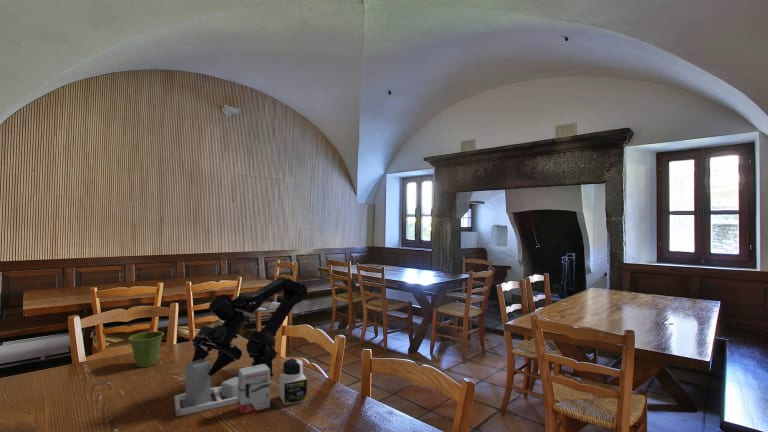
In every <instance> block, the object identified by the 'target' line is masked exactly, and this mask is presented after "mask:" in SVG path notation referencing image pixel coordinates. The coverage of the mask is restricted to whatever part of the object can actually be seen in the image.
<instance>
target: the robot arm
mask: <svg viewBox="0 0 768 432" xmlns="http://www.w3.org/2000/svg"><path fill="white" fill-rule="evenodd" d="M280 292H283V293H282V295H283V297H282V300H281V302H280V303H279V305H278V306H277V308H276V309H275V310H274V312H272V315H271V316H270V318H269V319H268V321H267V322H266V324H265V325H264V327H263V328H262V329H261V330H254V331H253V332H252V333H251V335H250V337H249V338H248V339H247V343H246V345H245V347H246V352H247V354H248V356H249V358H251V359H252V362H251V364H250V365H251V366H256V365H261V364H266V365H267V366H268V367H269V368H270V377H273V376H274V372H273V360H274V359H276V357H277V353H278V351H276V350H275V349H274V348H273V346H274V338H275V337H274V336H276V334H277V332H278V330H279V329H280V328H281V327H282V325H283V323H284V322H285V320H286V318H287V317H288V315H290V313H291V311H292V309H293V308H294V306H295V305H298V304H300V303H301V302H302V301H303V300H305V297H307V294H308V288H307V285H306V284H304V283H299V282H297V281H296V280H292V279H291V278H289V277H283V276H280V277H278V278H276V280H273V281H272V282H270V283H268V284H266V285H264V286H263V287H260V288H258V289H257V290H254V291H249V292H246V293H245V292H244V293H242V294H239V295H238V296H236V298H234V299H231V298H230V297H229V296H228V294H226V293H225V294H224V293H222V294H221V295H220V296H219V297H217V298H214V300H212V301H211V302H210V304H209V306H208V310H209V311H210V312H211V313H212V314H213V315H214V316H215V317H217V319H219V321H223V322H222V324H218V325H214V327H211V326H206V325H204V324H202V325H201V326H200V330H199V332H198V334H197V335H196V336H194V337H193V339H192V341H191V343H192V345H193V347H194V352H193V353H194V354H193V357H192V360H191V362H193V361H196V360H199V359H202V360H205V359H206V358H207V357H208V356H209V355H210V352H211V351H212V350H214V351H215V350H216V351H217V358H216V359H215V361H214V363H213V365H211V369H210V371H209V373H208V375H209V376H211V377H212V376H213V375H215V374H216V373H218V372H219V371H220V370H222V369H223V368H225V367H226V366H228V365H230V364H231V363H234V362H236V360H237V361H239V360H240V359H241V358H242V356H243V350H241V349H240V348H239V347H238V346H237V345H235V343H232V341H233V340H234V339H235V340H237V339H238V337H239V336H238V333H239V331H240V329H241V328H242V326H243V324H248V325H249V324H251V319H250V315H248V314H244V313H249V314H252V313H255V312H256V311H257V310H258V309H260V308H261V307H262V305H263V303H264V302H265V301H267V300H268V299H270V298H272V297H273V296H275V295H277V294H279V293H280ZM286 316H287V317H286ZM251 366H250V367H251Z"/></svg>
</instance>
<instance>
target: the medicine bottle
mask: <svg viewBox="0 0 768 432" xmlns="http://www.w3.org/2000/svg"><path fill="white" fill-rule="evenodd" d="M303 365H304V362H303V361H302V359H298V358H290V359H287V360H285V361H284V362H283V367H282V369H283V371H282V372H283V373H280V374H279V377H278V378H279V382H278V383H279V385H278V386H279V389H278V390H279V392H278V393H279V396H278V397H279V398H280V400H281V402H282V404H283V405H284V406H288V405H293V404H298V403H302V402H306V401H307V400H308V399H307V398H308V393H307V392H308V379H307V377H306V376H305V374H304V371H303V370H304V369H303V368H304V367H303Z"/></svg>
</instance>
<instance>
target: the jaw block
mask: <svg viewBox="0 0 768 432" xmlns="http://www.w3.org/2000/svg"><path fill="white" fill-rule="evenodd" d="M211 368H212V363H211V361H209V360H205V359H204V360H202V359H199V360H196V361H193V362H192V361H190V362H187V363H185V393H186V399H185V400H186V404H189V405H191V406H196V405H200V404H204V403H206V402H208V401H210V396H211V394H210V388H211V377H212V376H209V375H208V373H209V371H210V369H211Z"/></svg>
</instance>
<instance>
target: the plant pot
mask: <svg viewBox="0 0 768 432" xmlns="http://www.w3.org/2000/svg"><path fill="white" fill-rule="evenodd" d="M164 335H165V333H164V331H157V330H156V331H145V332H139V333H136V334H133V335H130V336H129V337H128V340H129V342H130V346H131V348H132V354H133V357H134V362H135V367H137V368H139V367H140V368H146V367H147V368H149V367H151V366H153V365H156V364H157V363H158V361H159V360H158V359H159V355H160V354H159V353H160V349H161V343H162V339H163V336H164Z"/></svg>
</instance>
